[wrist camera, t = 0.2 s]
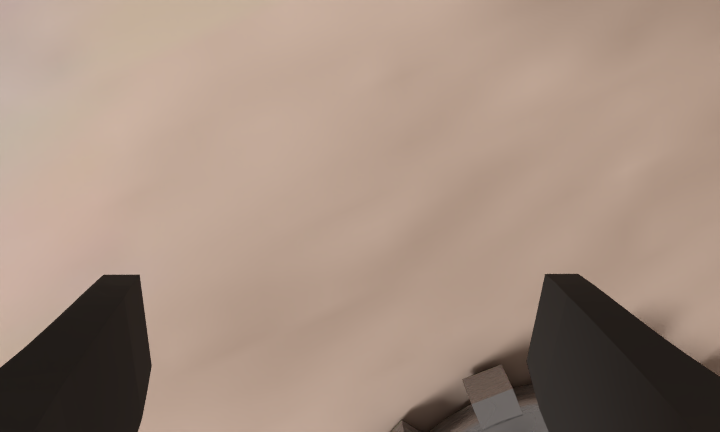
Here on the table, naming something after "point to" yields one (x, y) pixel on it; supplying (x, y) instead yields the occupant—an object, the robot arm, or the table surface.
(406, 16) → the table surface
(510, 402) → the sprocket
